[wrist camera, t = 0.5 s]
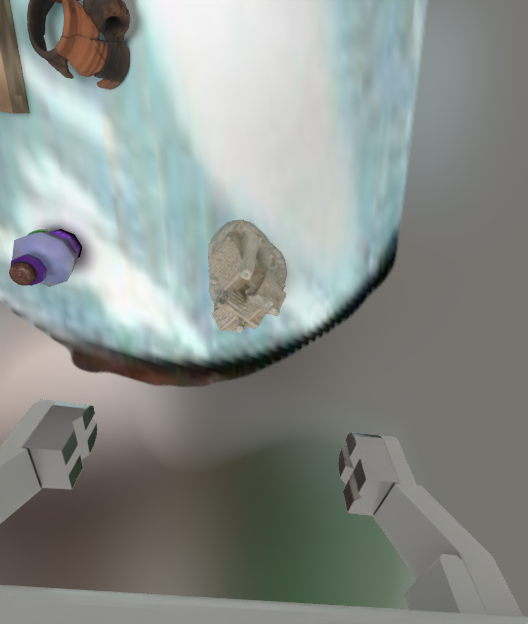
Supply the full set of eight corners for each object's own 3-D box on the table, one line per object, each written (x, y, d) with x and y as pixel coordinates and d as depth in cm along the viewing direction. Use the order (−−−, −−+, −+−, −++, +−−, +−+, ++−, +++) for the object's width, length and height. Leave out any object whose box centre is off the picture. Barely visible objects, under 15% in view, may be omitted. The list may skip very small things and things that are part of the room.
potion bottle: (55, 208, 52) (5, 232, 42) (101, 247, 56) (65, 278, 45) (28, 242, 55) (-26, 272, 45) (73, 277, 58) (33, 313, 48)
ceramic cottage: (248, 207, 52) (240, 246, 40) (302, 281, 60) (309, 334, 47) (177, 257, 57) (150, 306, 45) (234, 319, 65) (225, 375, 53)
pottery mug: (100, 109, 46) (40, 85, 38) (76, 41, 45) (9, 3, 38) (161, 55, 40) (104, 15, 33) (134, -23, 39) (70, -82, 32)
